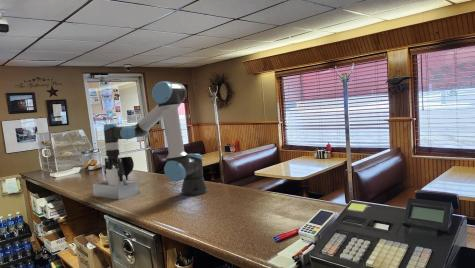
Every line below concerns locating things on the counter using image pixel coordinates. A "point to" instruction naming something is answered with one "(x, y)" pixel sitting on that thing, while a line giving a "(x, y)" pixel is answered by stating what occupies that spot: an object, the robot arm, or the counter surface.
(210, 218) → the counter surface
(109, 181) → the white box
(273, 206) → the counter surface
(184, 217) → the counter surface
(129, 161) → the wine glass
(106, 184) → the steel trough
